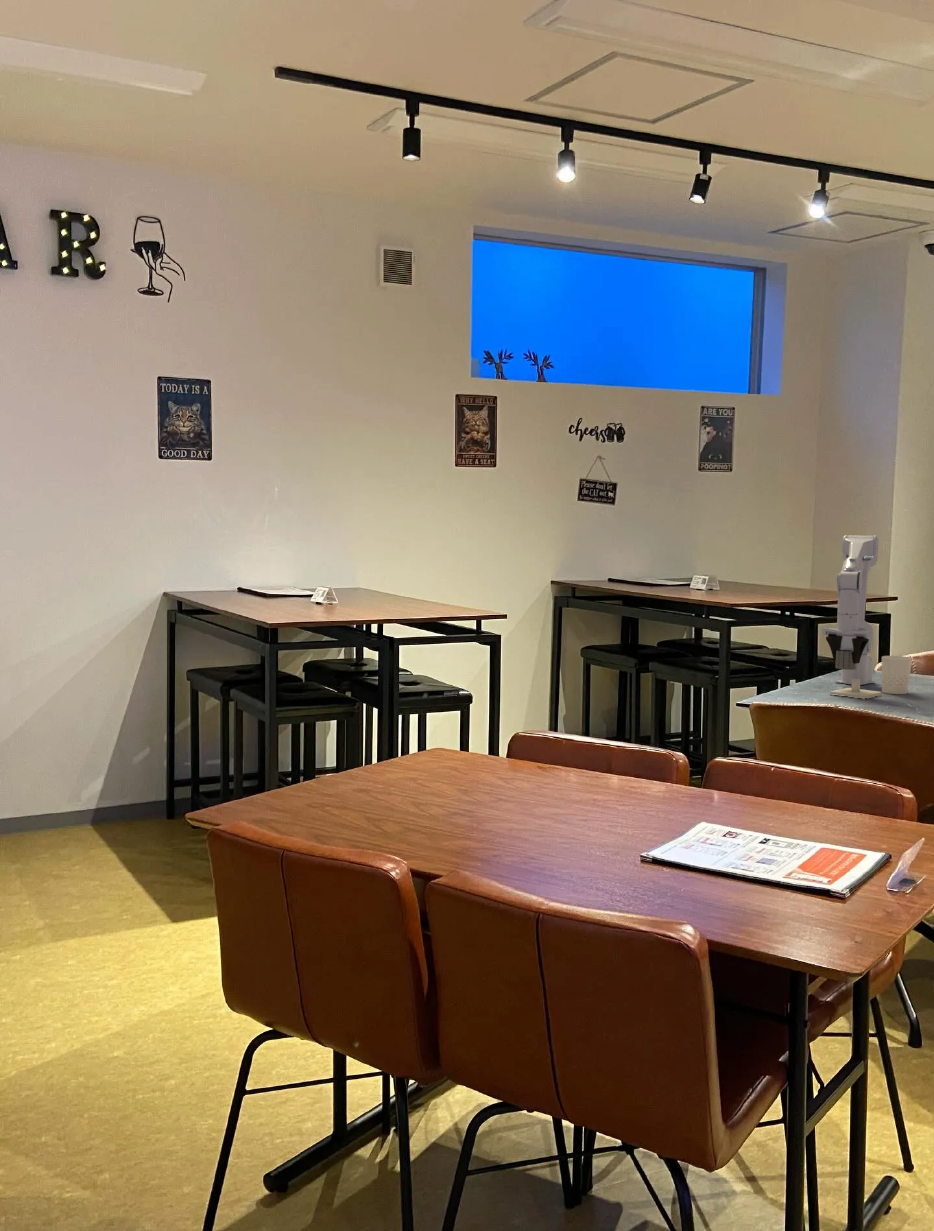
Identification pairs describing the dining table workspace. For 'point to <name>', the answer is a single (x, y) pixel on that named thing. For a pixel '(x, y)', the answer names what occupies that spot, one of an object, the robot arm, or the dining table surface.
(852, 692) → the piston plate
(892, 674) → the white cup
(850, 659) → the ring
